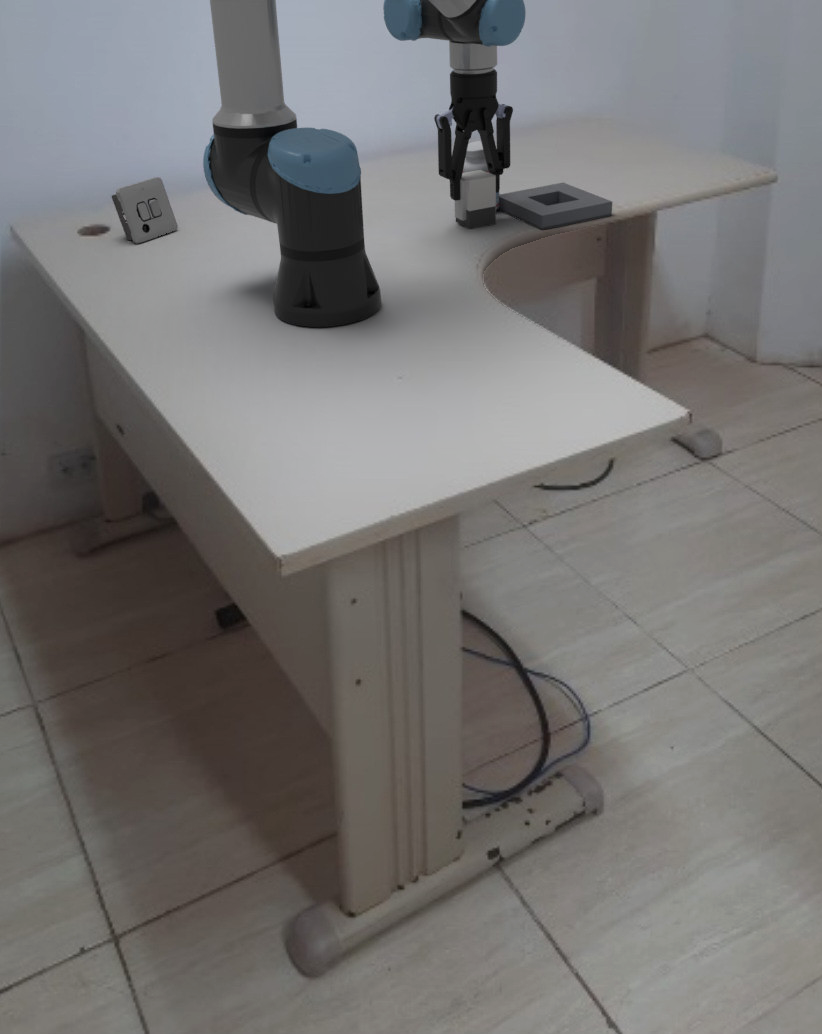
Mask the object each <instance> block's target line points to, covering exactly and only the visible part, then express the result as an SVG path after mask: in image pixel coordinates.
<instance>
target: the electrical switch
mask: <svg viewBox="0 0 822 1034" xmlns="http://www.w3.org/2000/svg"><path fill="white" fill-rule="evenodd" d="M111 199H112V202H113V205H114V208H115V210H116V213H117V215H118V219H119V222H120V223H121V226H122V227H121V228H122V230H123V232H124V235H125V237H126V241H131V240H132V242H133V243H135V244H136V243H138V244H141V243H144V242H147V241H150V240H153V239H156V238H158V236H159V237H161V235H162V236H164V235H167V234H169V233H170V234H171V233H173V232H175V231H177V230H178V228H179V227H178V226H179V225H178V223H177V220H176V218H175V214H174V211H173V208H172V205H171V203H170V199H169V197H168V194H167V191H166V188H165V185H164V182H163V179H162V178H161V177H159V176H157V177H156V176H155V177H152V178H149V179H146V180H142V181H139V182H136V183H132V184H131V183H130V184H129V185H125V186H121V187H119V188H116V190H115V194H113V195H111ZM172 231H173V232H172ZM166 233H167V234H166Z"/></svg>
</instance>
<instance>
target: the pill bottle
mask: <svg viewBox="0 0 822 1034" xmlns="http://www.w3.org/2000/svg"><path fill="white" fill-rule="evenodd" d="M477 170H482V171H485V172H489V170H488V167H487V163H486V159H485V155H484V150H483V146H482V142H481V140H475V141H473V142H468V147H467V153H466V158H465V163H464V168H463V173H465V172H471V171H477ZM499 196H500V191H499V192H498V193H496V211H498V210H497V209H498V208H499Z"/></svg>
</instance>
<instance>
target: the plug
mask: <svg viewBox="0 0 822 1034" xmlns="http://www.w3.org/2000/svg"><path fill="white" fill-rule="evenodd" d="M461 179H463V180H465V181H466V220H464V221H462V220H460V219H458V218H456V217H455V222H456V223H457V222H458V223H457V224H459V225H461V226H463V227H465V228H467V229H469V230H471V229H476V228H482V227H487V225H488V226H492V225H491V224H493V225H496V224H497V223H496V222H497V221H496V218H497V217H496V215H497V210H496V194H495V176H494V175H492V174H489V173H487V172H485V171H482V170H477V171H471V172H465V173H462V178H461Z"/></svg>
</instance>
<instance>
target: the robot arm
mask: <svg viewBox="0 0 822 1034" xmlns="http://www.w3.org/2000/svg"><path fill="white" fill-rule="evenodd" d="M209 5H210V13H211V24H212V30H213V40H214V47H215V49H214V50H215V57H216V59H215V60H216V66H217V67H216V68H217V74H218V84H219V85H218V86H219V92H220V94H219V95H220V102H221V103H220V104H221V106H220V109H219V110H218V111H217V112H216V114H215V115H214V116H213V117H212V120H211V121H212V122H211V123H212V130H213V133H212V135H211V137H209V143H208V144H207V145H206V146H205V149H204V152H203V159H202V160H203V161H202V165H203V166H202V168H203V173H204V177H205V180H206V183H207V186H208V187H209V189H210V191H211V192H212V194H213V195H214V196H215V197H216V198H217V200H219V201H220V202H222V203H223V204H224V205H225V206H228V207H230V208H231V209H233V210H234V211H236V212H238V213H239V214H242V215H247V216H252V217H255V218H259V219H262V220H264V221H267V222H270V223H272V224H273V223H274V224H276V226H277V233H278V243H279V250H280V251H279V252H280V261H279V266H278V267H279V268H278V272H277V276H276V279H275V280H276V281H275V286H274V291H273V295H272V296H273V297H272V301H273V308H274V314H275V315H276V317H277V318H279V320H281V321H283V322H285V323H288V324H291V325H295V326H301V327H309V328H310V327H312V328H313V327H314V328H316V327H318V328H321V327H322V328H324V327H337V326H343V325H349V324H353V323H356V322H360V321H362V320H365V319H367V318H369V317H371V316H373V315H374V314H376V313H377V312H378V311H379V310H380V308H381V306H382V295H381V294H382V293H381V288H380V285H379V282H378V280H377V277H376V275H375V272H374V270H373V267H372V265H371V262H370V260H369V257H368V255H367V252H366V245H365V232H364V231H365V229H364V214H363V198H362V179H361V178H362V170H361V169H362V168H361V166H360V161H359V154H358V150H357V146H356V144H355V143H354V142H353V140H352V139H351V138H349V137H348V136H347V135H345V134H343V133H341V132H338V131H335V130H332V129H327V128H320V129H318V128H315V127H298V122H297V121H298V120H297V114H296V113H295V112H294V111H293V110H292V109H291V108H290V107H289V106H288V105H287V104H286V103H285V95H284V86H283V85H284V84H283V83H284V82H283V72H282V61H281V59H282V58H281V48H280V38H279V37H280V36H279V26H278V13H277V1H276V0H209ZM526 11H527V10H526V5H525V1H524V0H384V1H383V21H384V24H385V26H386V29H387V30H388V32H389V35H391V36H392V38H395V40H397V41H403V42H404V41H413V42H415V41H417V40H419V39H433V40H441V41H449V42H448V43H449V44H448V45H449V48H448V49H449V67H450V68H451V69H452V71H451V72H450V73H449V90H450V91H449V93H450V94H449V95H450V98H451V102H450V105H449V108H448V111H445V112H443V113H442V114H439V113H438V114H435V115H434V116H433V119H434V123H435V125H436V129H437V150H438V152H437V156H438V158H437V159H438V175H439V176H440V177H441V178H444V179H446V180H449V196H450V198H451V200H453V201H454V217H455V219H456V218H458V219H460V220H462V221H464V220H466V181H465V180H463V179H461V178H462V173H463V168H464V163H465V159H466V153H467V147H468V144H469V143H470V139H472V136H473V135H472V134H473V132H475V131H477V133H478V134H479V137H480V141H481V142H482V146H483V150H484V155H485V159H486V163H487V167H488V170H489V172H487V173H489V174H492V175H494V176H495V194H496V193H498V192H499V193H500V189H501V188H500V183H501V178H500V177H501V176H502V175H503V173H504V171H505V169H509V168H511V119H512V116H513V112H514V108H513V106H511V105H508V104H504V103H501V104H500V103H499V101H498V98H497V92H498V71H497V70H496V69H495V68H496V67H497V66H498V47H505V46H509V45H511V44H512V43H514V42H515V41H516V40H517V39H518V38H519V36H520V34H521V32H522V30H523V28H524V26H525V23H526V22H525V20H526ZM495 116H496V119H495V121H496V123H495V124H496V125H495V126H496V127H495V129H496V141H495V136H494V132H495V130H494V127H493V123H492V122H493V118H494V117H495ZM452 120H453V121H454V122H455V129H454V135H455V138H454V141H453V142H454V143H453V144H452V129H451V128H452V126H453V121H452ZM452 146H453V149H452Z"/></svg>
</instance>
